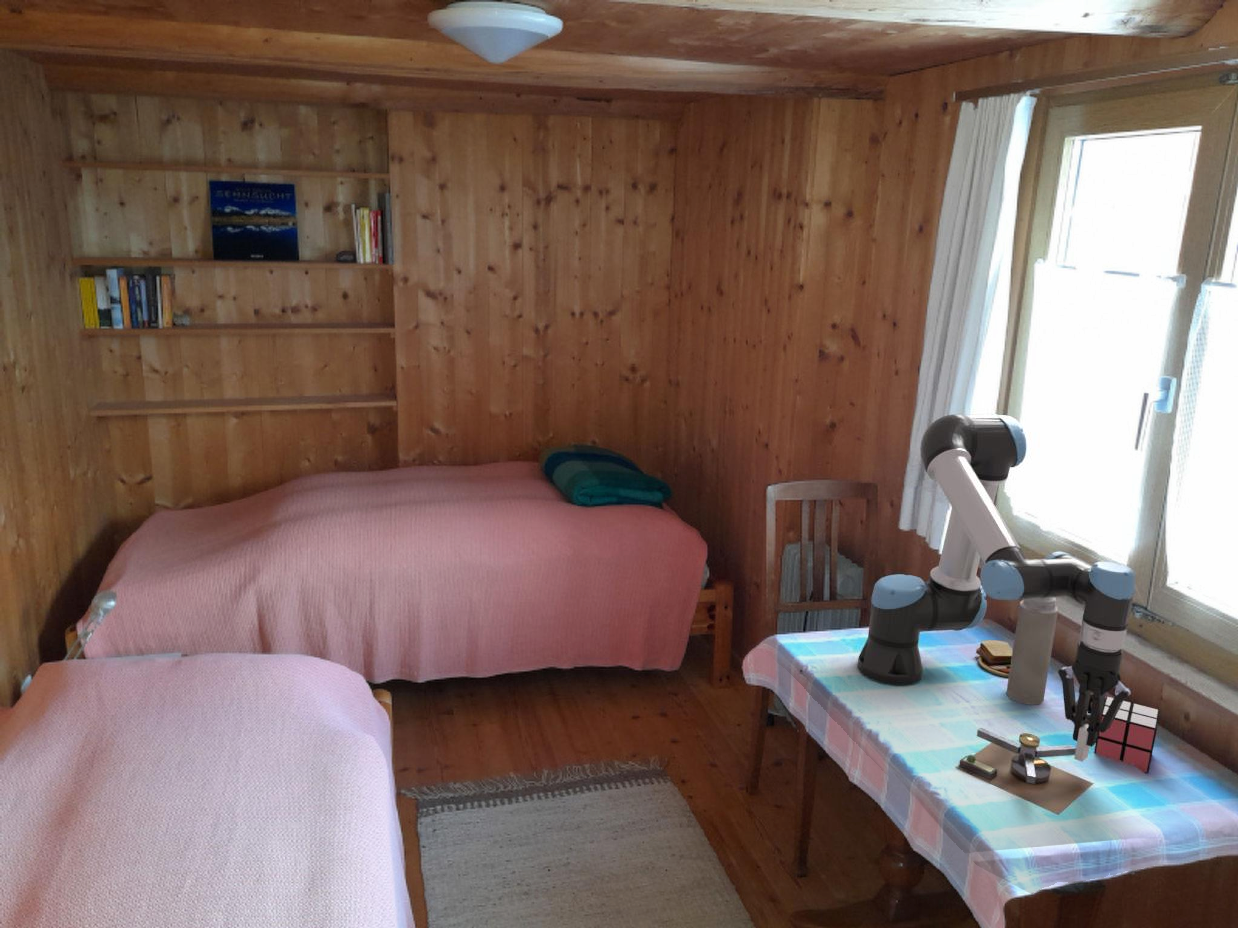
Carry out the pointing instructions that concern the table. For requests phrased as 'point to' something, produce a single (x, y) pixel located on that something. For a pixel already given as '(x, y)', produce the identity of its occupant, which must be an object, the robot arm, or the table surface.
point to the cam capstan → (1028, 755)
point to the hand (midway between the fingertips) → (1081, 757)
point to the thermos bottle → (1032, 650)
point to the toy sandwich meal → (995, 657)
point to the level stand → (996, 771)
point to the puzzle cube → (1129, 735)
